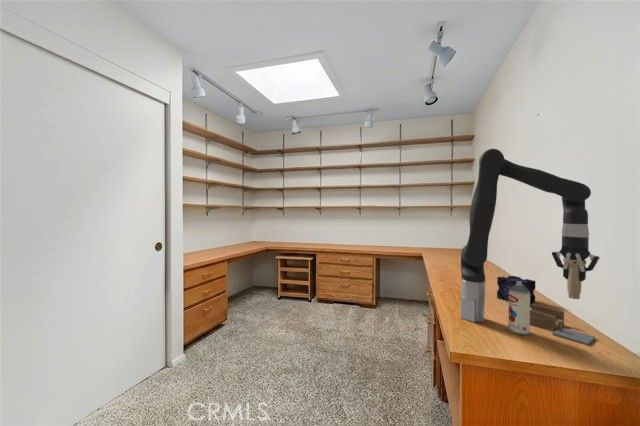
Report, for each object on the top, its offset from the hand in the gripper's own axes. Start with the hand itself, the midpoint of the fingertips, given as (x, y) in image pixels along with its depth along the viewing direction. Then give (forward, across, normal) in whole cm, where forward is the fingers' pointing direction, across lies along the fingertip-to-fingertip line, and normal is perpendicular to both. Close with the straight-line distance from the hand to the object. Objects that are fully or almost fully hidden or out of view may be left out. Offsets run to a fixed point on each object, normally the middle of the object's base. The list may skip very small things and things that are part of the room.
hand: (574, 279), depth 103 cm
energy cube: (+22, -30, +31) cm, 49 cm away
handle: (+7, 0, 0) cm, 7 cm away
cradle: (+22, -11, +5) cm, 25 cm away
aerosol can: (+22, -13, -13) cm, 29 cm away
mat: (+22, 0, 0) cm, 22 cm away
